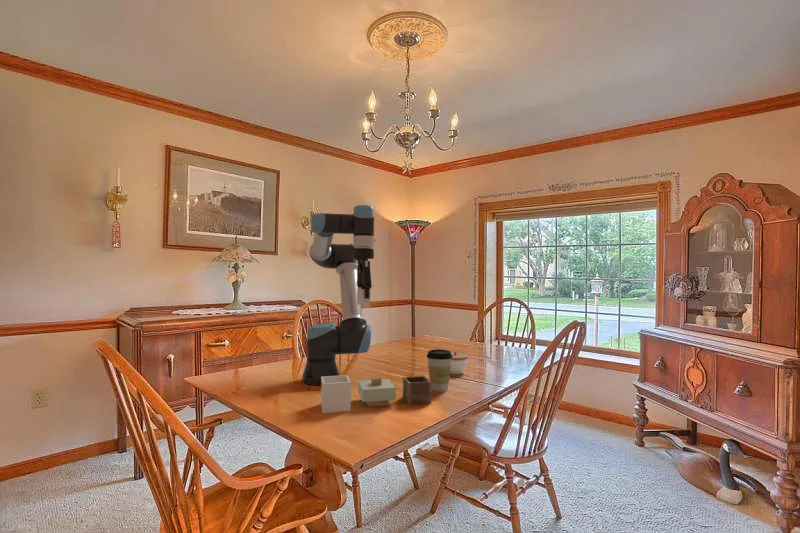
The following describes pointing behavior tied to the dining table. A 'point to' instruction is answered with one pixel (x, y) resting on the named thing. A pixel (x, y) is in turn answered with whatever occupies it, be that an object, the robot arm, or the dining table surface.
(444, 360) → the coffee cup
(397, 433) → the dining table surface
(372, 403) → the oak stand
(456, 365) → the lidded jar
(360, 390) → the lid
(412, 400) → the walnut box
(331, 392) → the planter
